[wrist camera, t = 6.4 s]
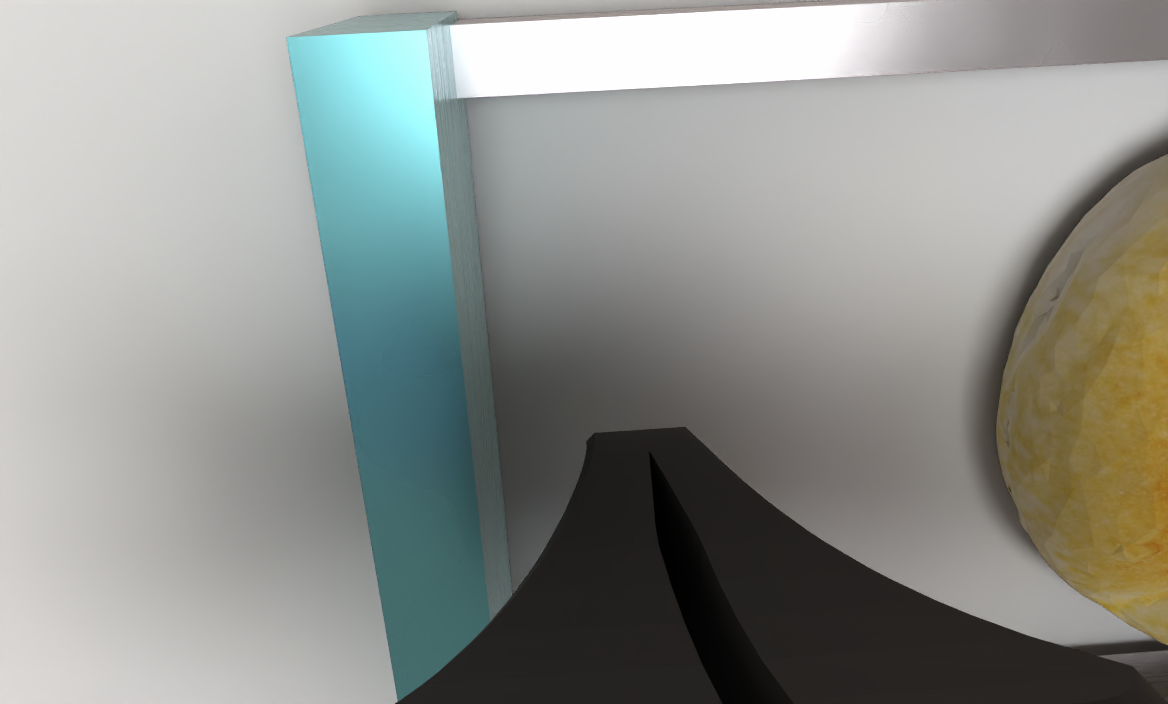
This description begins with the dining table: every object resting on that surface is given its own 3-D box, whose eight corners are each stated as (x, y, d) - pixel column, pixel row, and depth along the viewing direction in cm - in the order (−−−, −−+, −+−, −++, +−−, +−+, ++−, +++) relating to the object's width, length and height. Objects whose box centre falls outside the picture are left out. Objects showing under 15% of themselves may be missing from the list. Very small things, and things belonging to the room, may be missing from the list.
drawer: (1472, 663, 17) (1715, 842, 13) (459, 744, 16) (440, 954, 13) (1795, -58, 12) (2311, -68, 8) (360, 16, 11) (286, 37, 8)
